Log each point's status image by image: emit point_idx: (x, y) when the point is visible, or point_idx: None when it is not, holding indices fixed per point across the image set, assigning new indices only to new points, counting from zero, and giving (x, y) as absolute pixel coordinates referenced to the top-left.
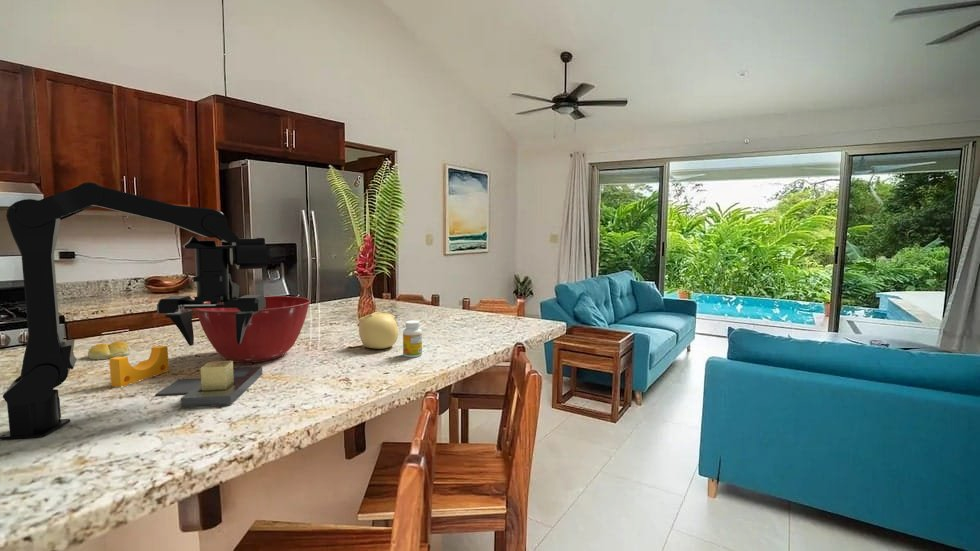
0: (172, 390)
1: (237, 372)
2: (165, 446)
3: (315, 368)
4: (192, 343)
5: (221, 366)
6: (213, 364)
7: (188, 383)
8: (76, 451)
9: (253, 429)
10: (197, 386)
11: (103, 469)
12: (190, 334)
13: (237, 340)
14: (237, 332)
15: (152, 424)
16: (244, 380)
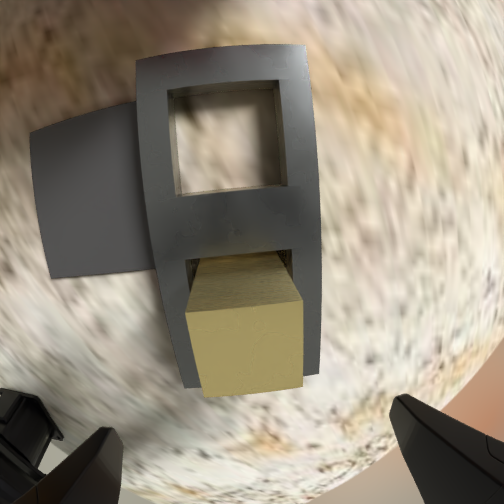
0: (71, 249)
1: (215, 85)
2: (270, 475)
3: (438, 44)
4: (115, 441)
5: (288, 386)
6: (235, 362)
7: (76, 177)
8: (154, 476)
9: (381, 431)
10: (164, 296)
11: (230, 500)
12: (103, 495)
13: (399, 438)
14: (422, 483)
15: (189, 431)
16: (311, 235)
